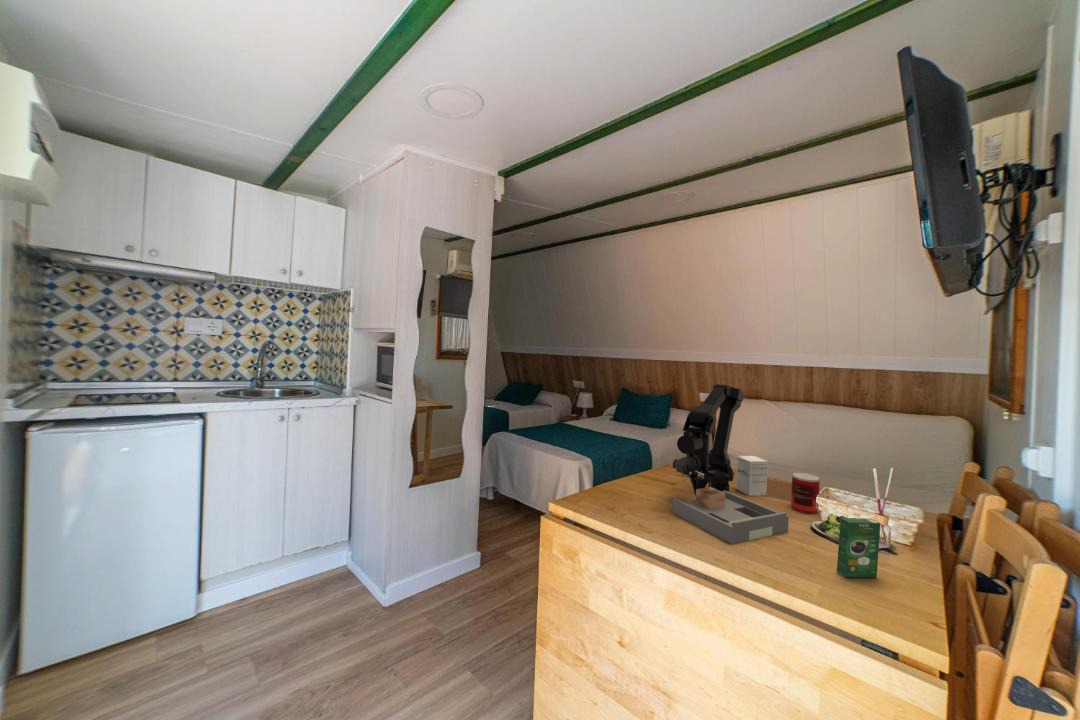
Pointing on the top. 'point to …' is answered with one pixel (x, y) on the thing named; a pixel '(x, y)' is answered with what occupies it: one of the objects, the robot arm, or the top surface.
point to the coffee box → (858, 547)
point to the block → (710, 498)
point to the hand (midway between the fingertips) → (697, 496)
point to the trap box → (734, 518)
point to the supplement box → (752, 475)
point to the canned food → (804, 492)
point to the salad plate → (833, 528)
